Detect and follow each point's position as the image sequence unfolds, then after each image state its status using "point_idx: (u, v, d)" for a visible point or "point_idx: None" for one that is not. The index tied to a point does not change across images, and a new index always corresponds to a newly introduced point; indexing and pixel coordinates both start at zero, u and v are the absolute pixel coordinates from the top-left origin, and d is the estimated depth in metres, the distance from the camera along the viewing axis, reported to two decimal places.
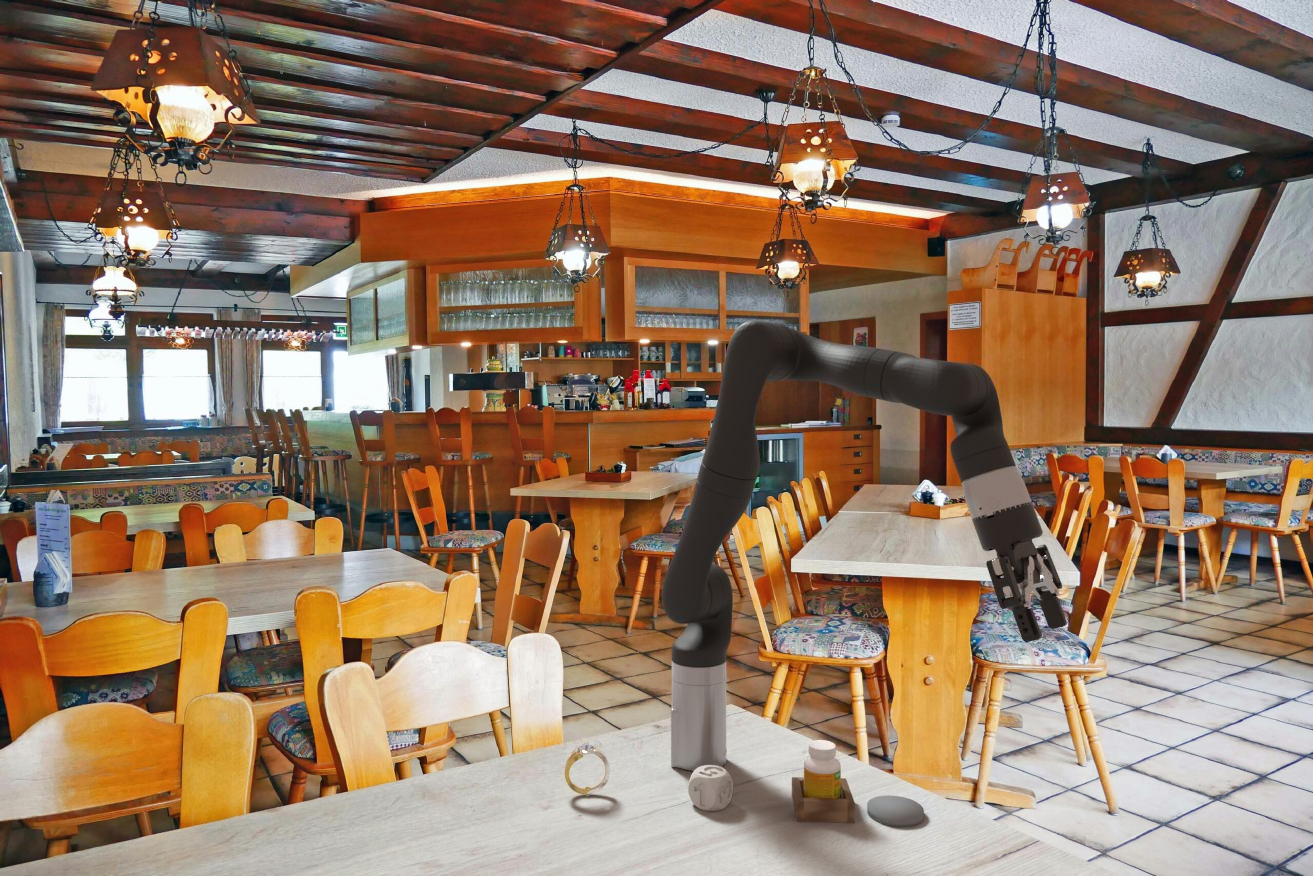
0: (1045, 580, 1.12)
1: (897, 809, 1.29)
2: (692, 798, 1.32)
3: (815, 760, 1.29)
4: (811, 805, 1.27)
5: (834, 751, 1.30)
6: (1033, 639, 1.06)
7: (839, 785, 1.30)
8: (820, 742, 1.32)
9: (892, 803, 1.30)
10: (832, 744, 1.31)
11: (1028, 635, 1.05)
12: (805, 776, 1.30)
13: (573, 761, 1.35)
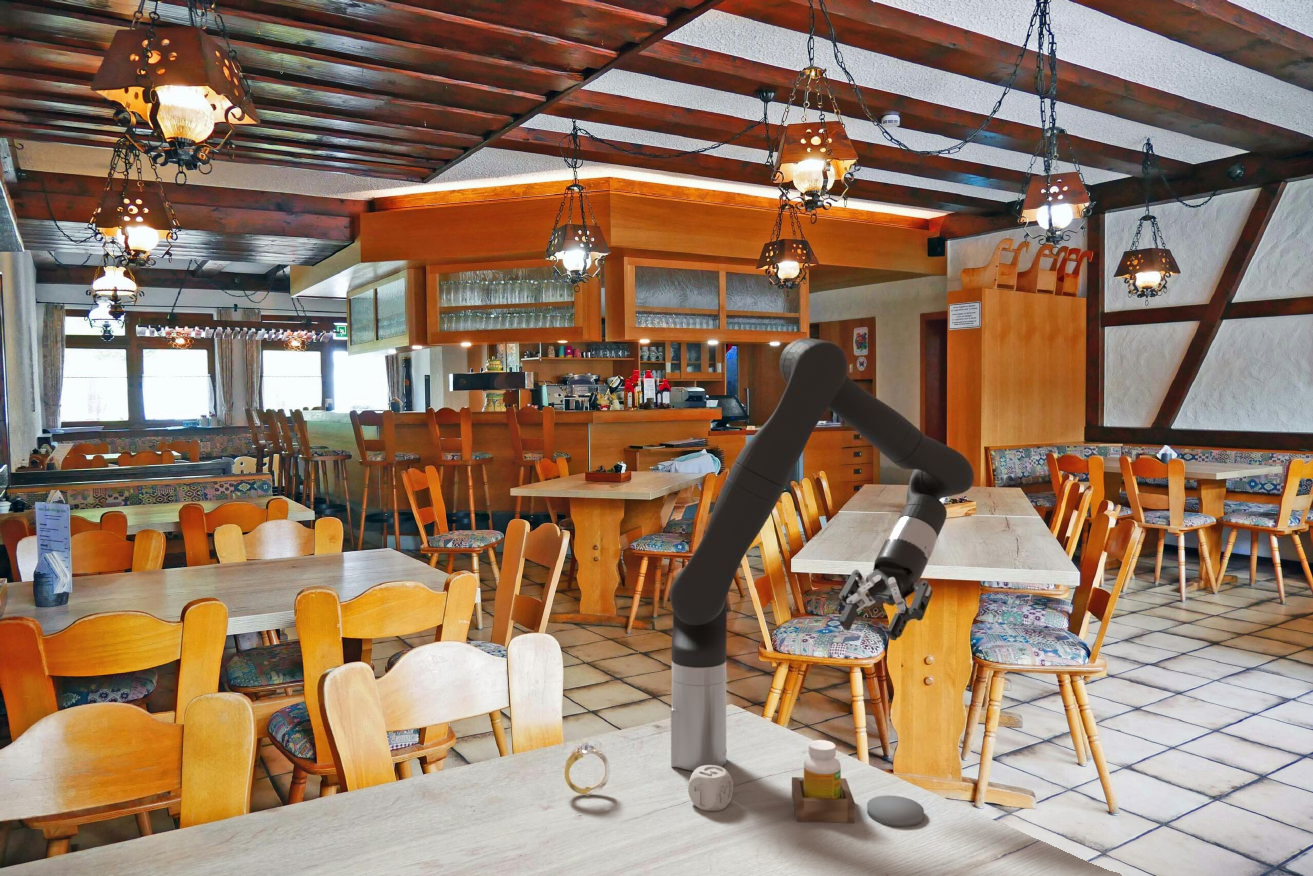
0: (870, 602, 1.43)
1: (897, 809, 1.29)
2: (692, 798, 1.32)
3: (815, 760, 1.29)
4: (811, 805, 1.27)
5: (834, 751, 1.30)
6: (893, 637, 1.35)
7: (839, 785, 1.30)
8: (820, 742, 1.32)
9: (892, 803, 1.30)
10: (832, 744, 1.31)
11: (898, 634, 1.35)
12: (805, 776, 1.30)
13: (573, 761, 1.35)
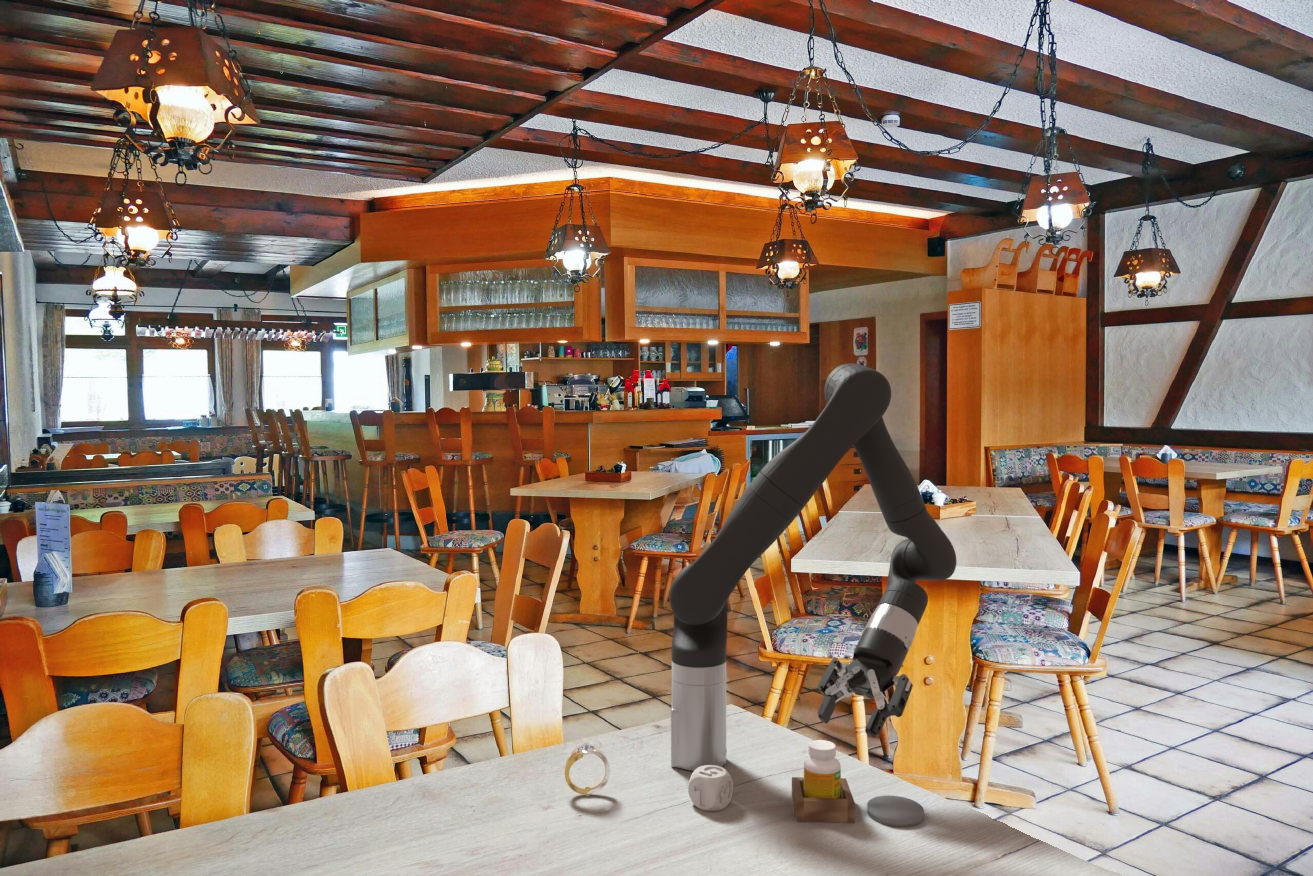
0: (849, 693, 1.40)
1: (897, 809, 1.29)
2: (692, 798, 1.32)
3: (815, 760, 1.29)
4: (811, 805, 1.27)
5: (834, 751, 1.30)
6: (872, 735, 1.32)
7: (839, 785, 1.30)
8: (820, 742, 1.32)
9: (892, 803, 1.30)
10: (832, 744, 1.31)
11: (876, 732, 1.31)
12: (805, 776, 1.30)
13: (573, 761, 1.35)
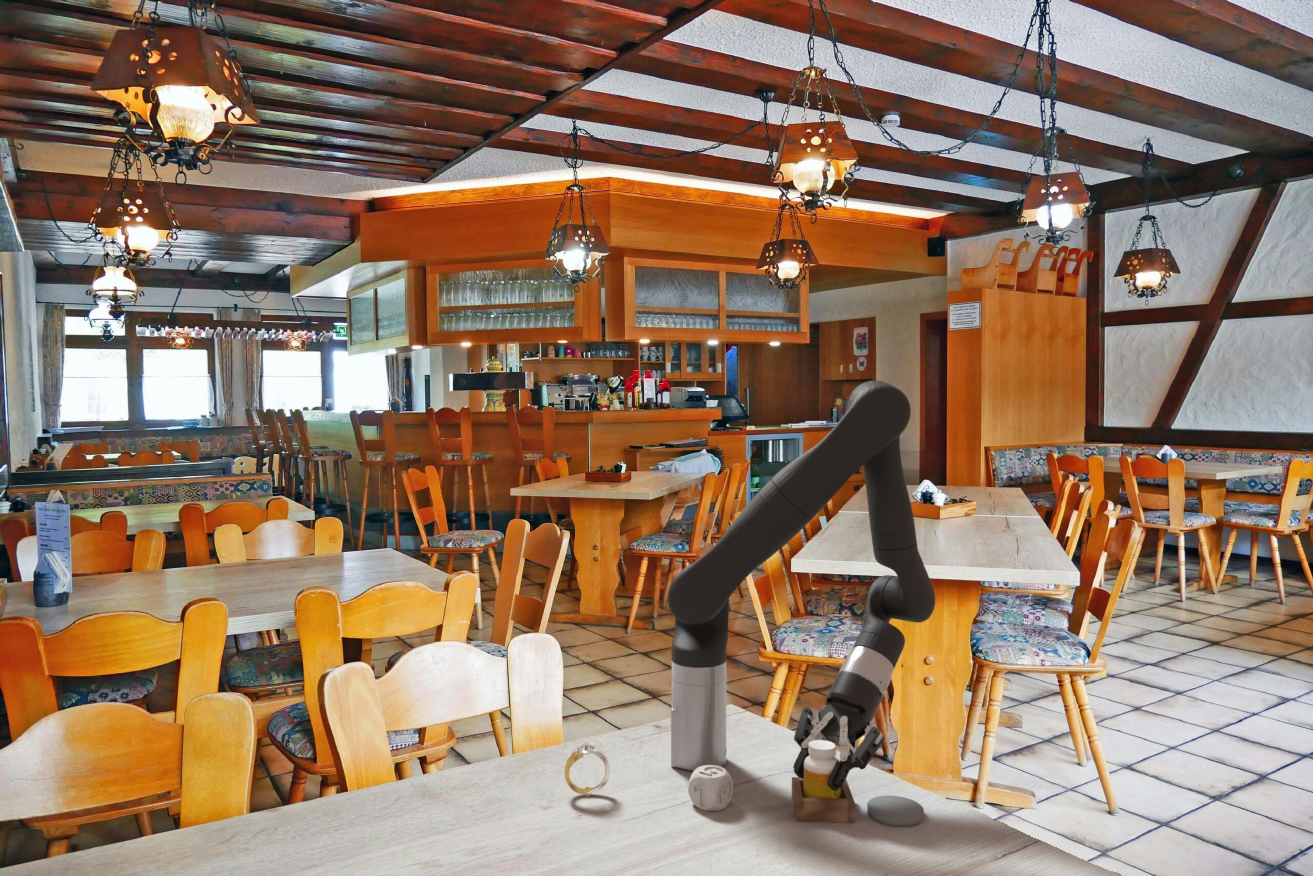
0: None
1: (897, 809, 1.29)
2: (692, 798, 1.32)
3: (815, 760, 1.29)
4: (811, 805, 1.27)
5: (834, 751, 1.30)
6: (834, 788, 1.27)
7: None
8: (820, 742, 1.32)
9: (892, 803, 1.30)
10: (832, 744, 1.31)
11: (839, 785, 1.27)
12: (805, 776, 1.30)
13: (573, 761, 1.35)
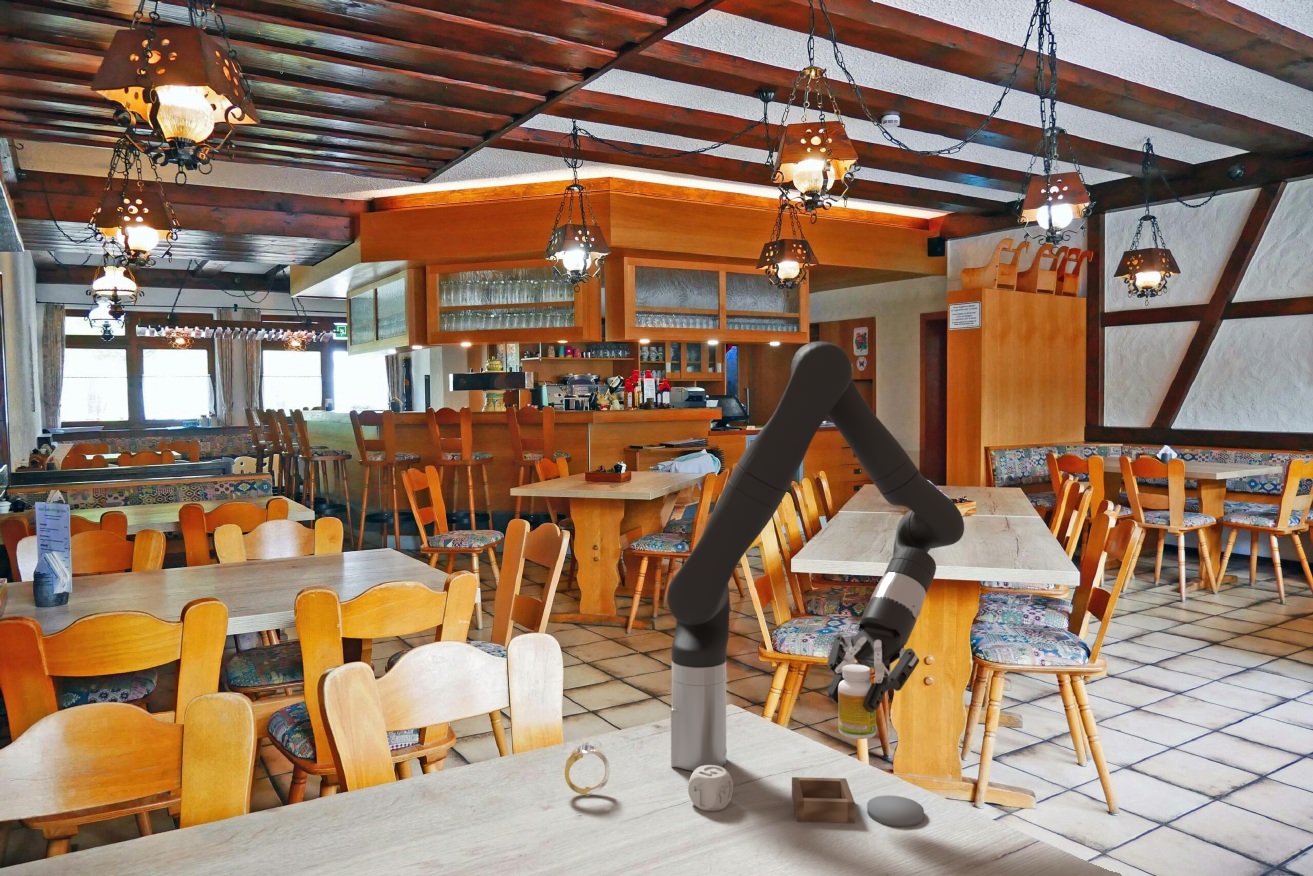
0: None
1: (897, 809, 1.29)
2: (692, 798, 1.32)
3: (850, 683, 1.28)
4: (811, 805, 1.27)
5: (869, 673, 1.29)
6: (870, 710, 1.26)
7: None
8: (854, 665, 1.31)
9: (892, 803, 1.30)
10: (866, 667, 1.30)
11: (875, 706, 1.26)
12: (840, 699, 1.29)
13: (573, 761, 1.35)
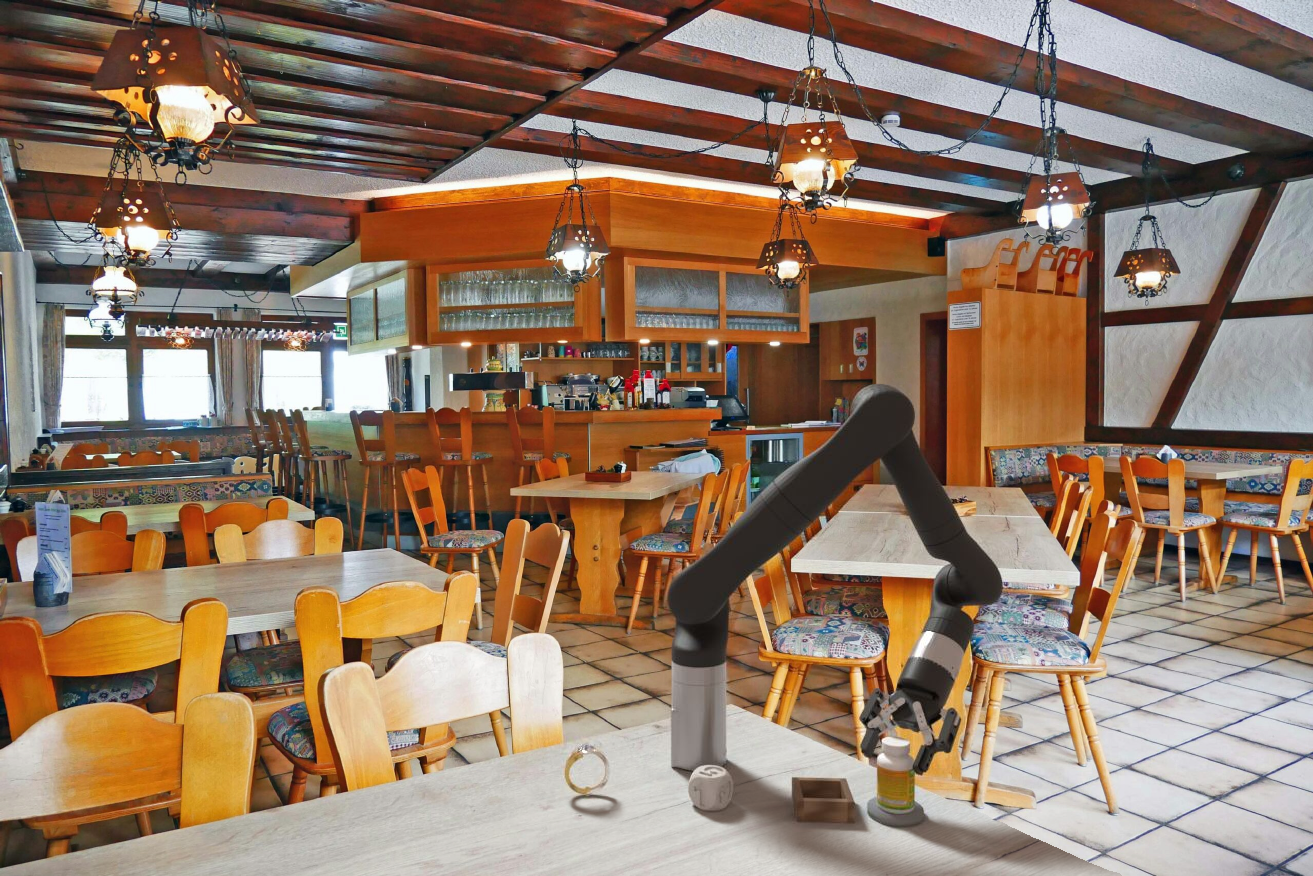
0: (893, 726, 1.33)
1: None
2: (692, 798, 1.32)
3: (890, 757, 1.28)
4: (811, 805, 1.27)
5: (908, 748, 1.28)
6: (919, 772, 1.25)
7: (913, 782, 1.28)
8: (893, 738, 1.30)
9: None
10: (906, 741, 1.29)
11: (924, 769, 1.25)
12: (879, 773, 1.29)
13: (573, 761, 1.35)
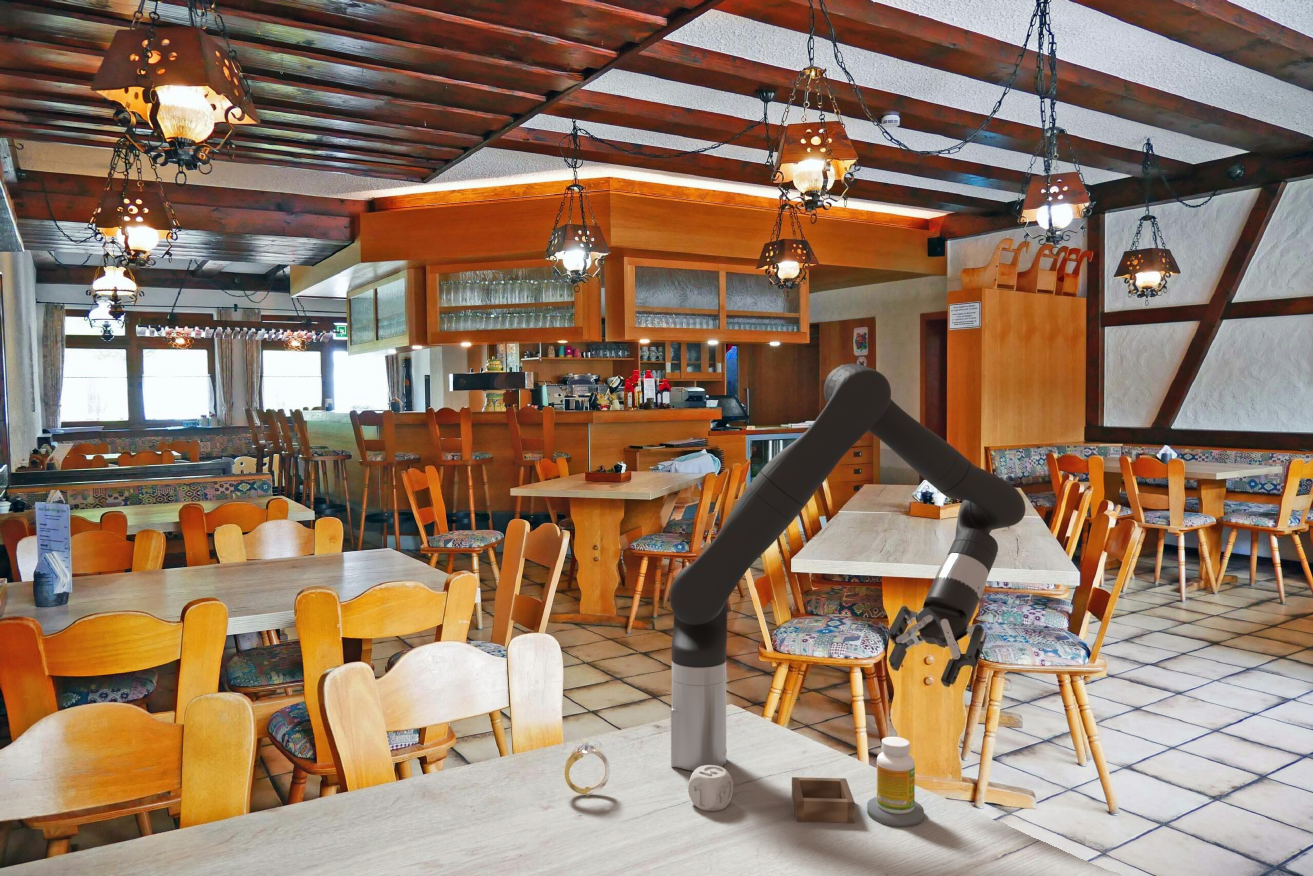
0: (920, 641, 1.41)
1: None
2: (692, 798, 1.32)
3: (890, 757, 1.28)
4: (811, 805, 1.27)
5: (908, 748, 1.28)
6: (947, 684, 1.33)
7: (913, 782, 1.28)
8: (893, 738, 1.30)
9: None
10: (906, 741, 1.29)
11: (952, 681, 1.32)
12: (879, 773, 1.29)
13: (573, 761, 1.35)
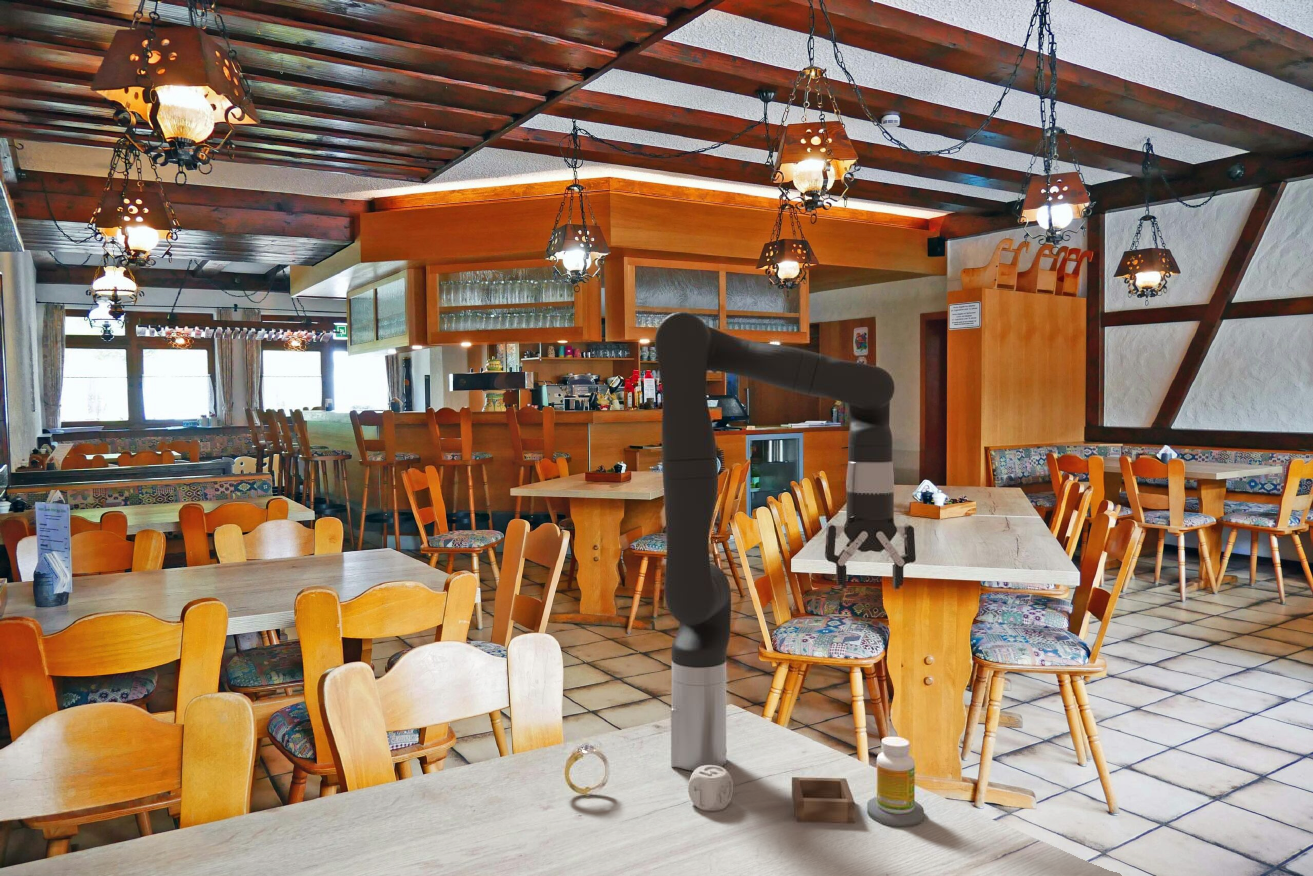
0: None
1: None
2: (692, 798, 1.32)
3: (889, 757, 1.28)
4: (811, 805, 1.27)
5: (908, 748, 1.28)
6: None
7: (913, 782, 1.28)
8: (893, 738, 1.30)
9: None
10: (905, 740, 1.29)
11: None
12: (879, 773, 1.29)
13: (573, 761, 1.35)
